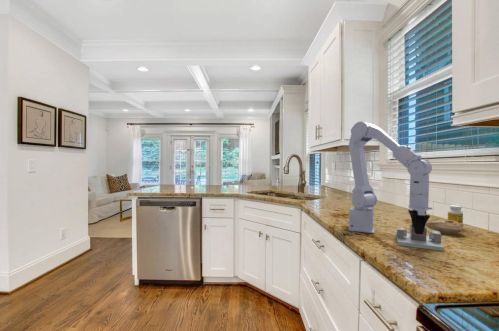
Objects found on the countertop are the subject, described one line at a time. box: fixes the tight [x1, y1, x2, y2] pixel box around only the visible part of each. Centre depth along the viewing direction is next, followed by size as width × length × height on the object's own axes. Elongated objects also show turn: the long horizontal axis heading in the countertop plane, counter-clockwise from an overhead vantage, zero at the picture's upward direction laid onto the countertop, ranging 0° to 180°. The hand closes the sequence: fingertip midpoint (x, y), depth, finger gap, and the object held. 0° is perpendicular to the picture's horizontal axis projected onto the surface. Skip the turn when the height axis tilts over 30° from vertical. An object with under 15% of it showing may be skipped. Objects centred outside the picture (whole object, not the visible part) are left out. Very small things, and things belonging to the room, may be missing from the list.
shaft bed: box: [395, 226, 445, 252], centre depth 97 cm, size 13×14×4 cm
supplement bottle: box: [447, 204, 464, 225], centre depth 120 cm, size 5×5×10 cm
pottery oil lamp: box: [425, 219, 465, 235], centre depth 111 cm, size 9×12×7 cm
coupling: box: [409, 223, 428, 241], centre depth 97 cm, size 5×5×4 cm
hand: (417, 232), depth 97 cm, fingers open, 5 cm apart
